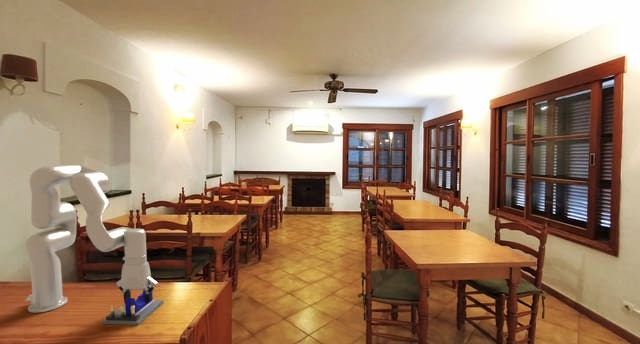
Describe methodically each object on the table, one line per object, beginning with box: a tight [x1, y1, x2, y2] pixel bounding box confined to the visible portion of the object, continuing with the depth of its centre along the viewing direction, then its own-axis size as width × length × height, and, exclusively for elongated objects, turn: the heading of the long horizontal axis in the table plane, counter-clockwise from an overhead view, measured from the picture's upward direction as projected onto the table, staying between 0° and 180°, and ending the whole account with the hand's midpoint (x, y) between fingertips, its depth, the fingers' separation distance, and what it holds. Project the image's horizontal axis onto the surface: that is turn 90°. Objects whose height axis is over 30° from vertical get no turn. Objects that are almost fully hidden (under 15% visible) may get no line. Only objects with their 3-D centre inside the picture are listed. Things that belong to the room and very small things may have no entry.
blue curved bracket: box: [124, 287, 154, 315], centre depth 130 cm, size 12×4×6 cm, turn 172°
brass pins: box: [105, 304, 140, 321], centre depth 121 cm, size 12×2×5 cm, turn 87°
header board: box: [102, 299, 164, 326], centre depth 128 cm, size 14×17×1 cm
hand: (137, 301), depth 130 cm, fingers open, 8 cm apart
